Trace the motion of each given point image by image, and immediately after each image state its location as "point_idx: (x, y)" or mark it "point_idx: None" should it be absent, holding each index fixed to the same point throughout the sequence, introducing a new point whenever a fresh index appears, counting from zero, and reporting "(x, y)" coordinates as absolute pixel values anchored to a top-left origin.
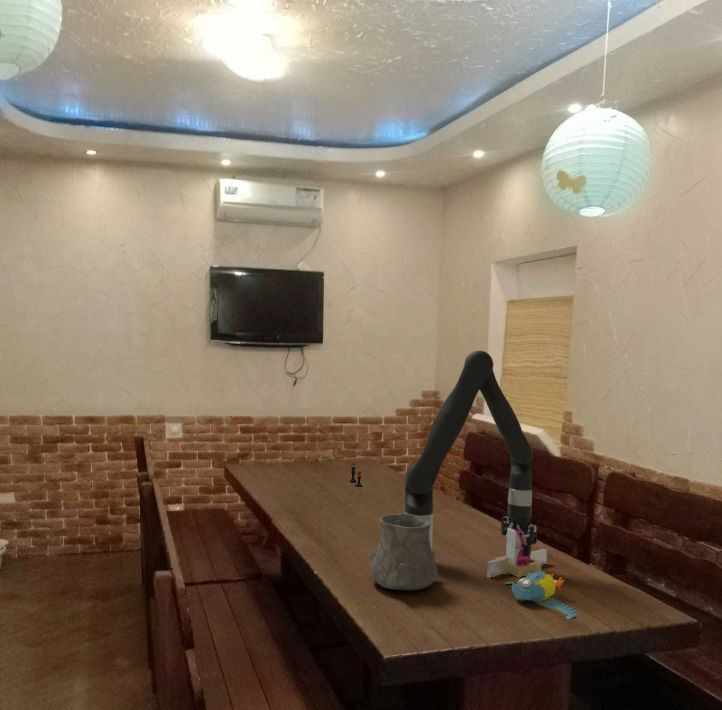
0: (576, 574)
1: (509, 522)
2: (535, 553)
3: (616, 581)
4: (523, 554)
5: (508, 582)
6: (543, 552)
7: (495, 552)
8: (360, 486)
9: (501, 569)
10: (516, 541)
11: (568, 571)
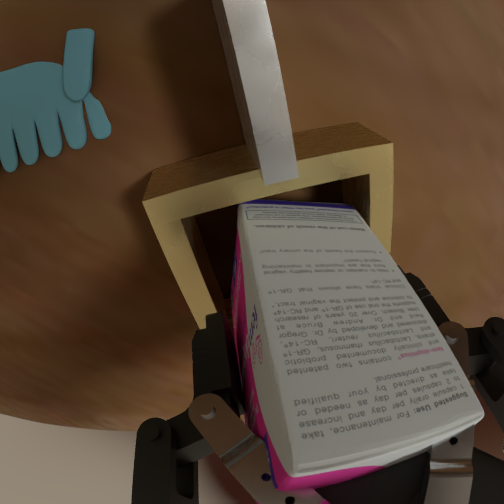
0: (172, 396)
1: (493, 472)
2: None
3: (112, 429)
4: (223, 317)
5: (78, 64)
6: None
7: (479, 252)
8: None
9: (237, 91)
10: (268, 372)
11: None
